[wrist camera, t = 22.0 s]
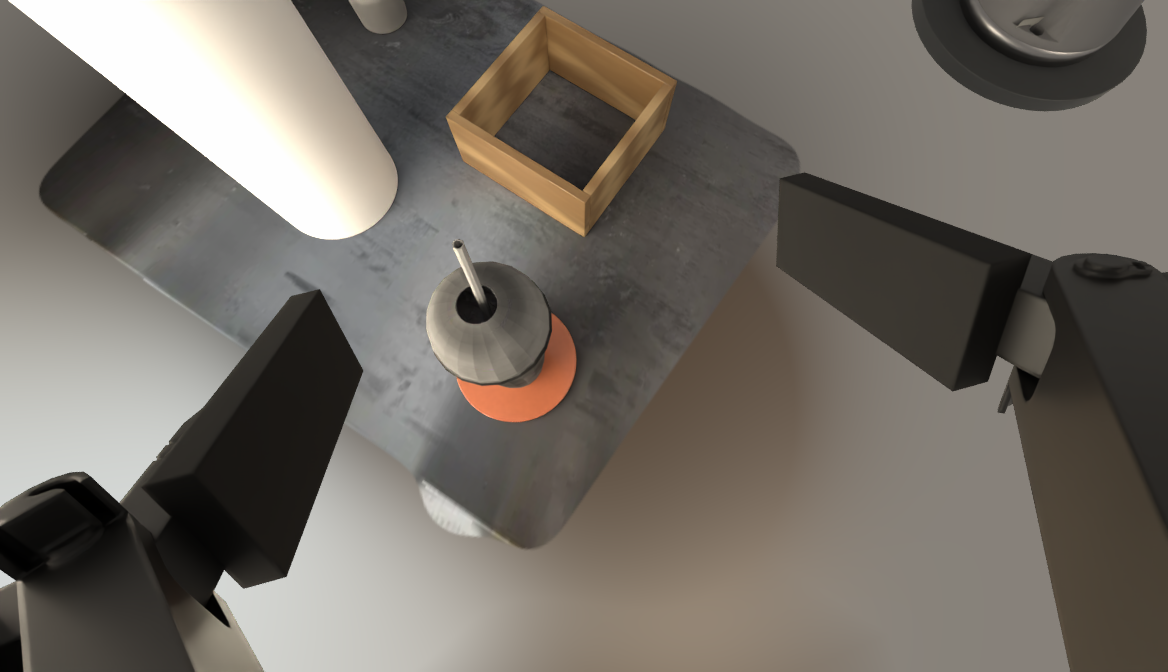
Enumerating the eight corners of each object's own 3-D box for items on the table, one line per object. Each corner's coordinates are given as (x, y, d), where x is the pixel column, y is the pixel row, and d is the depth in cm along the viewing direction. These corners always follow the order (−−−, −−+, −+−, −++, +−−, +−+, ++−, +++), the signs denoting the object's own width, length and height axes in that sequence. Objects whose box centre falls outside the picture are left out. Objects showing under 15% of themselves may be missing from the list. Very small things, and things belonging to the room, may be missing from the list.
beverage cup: (465, 400, 38) (347, 347, 19) (478, 314, 40) (383, 184, 21) (555, 409, 38) (529, 365, 19) (564, 322, 40) (550, 199, 20)
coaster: (560, 292, 41) (560, 290, 41) (589, 404, 39) (590, 403, 38) (446, 320, 40) (444, 318, 40) (469, 436, 38) (468, 436, 38)
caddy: (547, 60, 47) (543, 5, 41) (664, 128, 45) (677, 80, 39) (463, 161, 44) (445, 116, 38) (584, 237, 42) (585, 203, 36)
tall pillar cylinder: (422, 180, 44) (223, -164, 19) (335, 262, 42) (-11, -4, 17) (342, 114, 45) (66, -280, 21) (255, 190, 43) (-165, -147, 19)
